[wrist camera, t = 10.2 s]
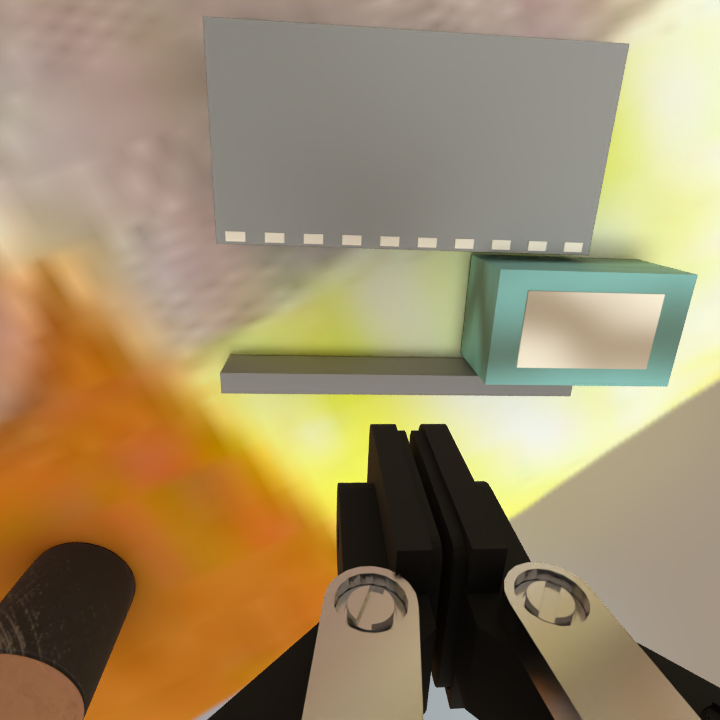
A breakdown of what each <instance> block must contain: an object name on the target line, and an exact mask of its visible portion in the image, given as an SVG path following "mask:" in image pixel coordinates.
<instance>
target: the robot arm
mask: <svg viewBox="0 0 720 720" xmlns="http://www.w3.org/2000/svg"><path fill="white" fill-rule="evenodd" d="M337 569H338V576H337V577H336V578H335V579H334V580H333V581H332V582H331V583H330V585H329V586H328V588H327V591H326V593H325V596H324V600H323V606H322V611H321V617H320V622H319V623H318V624H317V625H316V626H314V627H313V628H312V629H311V630H310V631H309V632H308V633H306V634H305V635H304V636H303V637H302V638H301V639H299V640H298V641H297V642H296V643H295V644H294V645H293V646H291V647H290V648H289V649H288V650H287V651H286V652H285V653H283V654H282V655H281V656H280V657H279V658H278V659H277V660H275V661H274V662H273V663H272V664H271V665H270V666H268V667H267V668H266V669H265V670H264V671H263V672H262V673H260V674H259V675H258V676H257V677H256V678H255V679H254V680H252V681H251V682H250V683H249V684H248V685H247V686H246V687H244V688H243V689H242V690H241V691H240V692H239V693H237V694H236V695H235V696H234V697H233V698H232V699H231V700H229V701H228V702H227V703H226V704H225V705H224V706H223V707H221V708H220V709H219V710H218V711H217V712H216V713H215V714H213V715H212V716H211V717H210V718H209V719H208V720H423V714H424V713H425V711H426V709H427V700H428V692H429V684H430V676H431V672H432V677H433V681H434V684H435V686H436V687H445V690H446V694H447V698H448V702H449V707H450V709H455V708H465V709H466V710H467V711H468V712H470V713H471V714H472V715H474V716H475V717H476V718H477V719H479V720H720V688H719V687H717V686H716V685H714V684H712V683H710V682H708V681H706V680H705V679H703V678H701V677H699V676H697V675H695V674H693V673H692V672H690V671H688V670H686V669H684V668H682V667H681V666H679V665H677V664H675V663H673V662H671V661H670V660H668V659H666V658H664V657H662V656H661V655H659V654H657V653H655V652H653V651H652V650H649V649H648V648H646V647H644V646H642V645H641V644H639V643H637V642H636V641H635V640H634V639H633V638H632V637H631V635H630V634H629V633H628V632H627V631H626V629H625V628H624V627H623V626H622V625H621V624H620V622H619V621H618V620H617V619H616V618H615V616H614V615H613V614H612V613H611V612H610V610H609V609H608V608H607V607H606V606H605V605H604V603H603V602H602V601H601V600H600V599H599V597H598V596H597V595H596V594H595V593H594V591H593V590H592V589H591V588H590V587H589V586H588V585H586V583H585V582H584V581H583V580H581V579H580V578H578V577H577V576H575V575H574V574H572V573H571V572H569V571H567V570H565V569H563V568H560V567H558V566H555V565H552V564H546V563H542V562H531V561H530V559H529V557H528V556H527V554H526V552H525V550H524V548H523V546H522V545H521V543H520V541H519V539H518V537H517V535H516V533H515V532H514V530H513V528H512V526H511V524H510V522H509V521H508V519H507V517H506V515H505V513H504V511H503V509H502V508H501V506H500V504H499V502H498V500H497V498H496V496H495V495H494V493H493V491H492V489H491V487H490V486H489V484H488V483H487V482H484V481H474V479H473V477H472V475H471V473H470V471H469V469H468V467H467V465H466V463H465V461H464V459H463V457H462V455H461V453H460V451H459V449H458V447H457V445H456V443H455V441H454V439H453V437H452V435H451V433H450V431H449V429H448V427H447V426H446V424H421V425H420V427H419V431H411V434H410V444H409V441H408V438H407V435H406V432H405V431H397V427H396V425H395V424H371V425H370V434H369V454H368V475H367V483H338V487H337Z"/></svg>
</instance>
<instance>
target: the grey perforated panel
mask: <svg viewBox="0 0 720 720" xmlns="http://www.w3.org/2000/svg"><path fill="white" fill-rule="evenodd" d="M203 25H204V42H205V59H206V76H207V93H208V109H209V126H210V143H211V160H212V177H213V194H214V211H215V227H216V244H244V245H276V246H309V247H341V248H374V249H407V250H439V251H472V252H504V253H537V254H570V255H589V250H590V245H591V240H592V234H593V229H594V224H595V219H596V214H597V209H598V203H599V198H600V193H601V188H602V183H603V178H604V172H605V167H606V162H607V157H608V152H609V146H610V141H611V136H612V131H613V126H614V121H615V115H616V110H617V105H618V100H619V95H620V90H621V84H622V79H623V74H624V69H625V64H626V59H627V53H628V48H629V44H625V43H610V42H594V41H579V40H563V39H547V38H532V37H516V36H501V35H485V34H470V33H454V32H438V31H423V30H407V29H392V28H376V27H361V26H345V25H329V24H314V23H298V22H283V21H267V20H252V19H236V18H220V17H205V16H203ZM220 378H221V393H254V394H371V395H489V396H570V395H571V390H572V385H485V384H484V382H483V381H482V380H481V378H480V377H479V376H478V375H477V373H476V372H475V371H474V369H473V368H472V367H471V366H470V364H469V363H468V362H467V361H466V359H465V358H421V357H351V356H280V355H230V356H229V358H228V360H227V362H226V363H225V365H224V367H223V369H222V371H221V373H220Z"/></svg>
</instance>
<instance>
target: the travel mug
mask: <svg viewBox="0 0 720 720" xmlns="http://www.w3.org/2000/svg"><path fill="white" fill-rule="evenodd" d="M134 593H135V581H134V577H133V574H132V572H131V570H130V569H129V567H128V566H127V564H126V563H125V562H124V561H123V560H122V559H121V558H120V557H118V556H117V555H116V554H114V553H112V552H111V551H109V550H107V549H105V548H102V547H99V546H96V545H92V544H86V543H67V544H62V545H59V546H56V547H53V548H51V549H49V550H47V551H46V552H44V553H43V554H42V555H40V556H39V557H38V558H37V559H36V561H35V562H34V563H33V564H32V565H31V566H30V567H29V568H28V570H27V571H26V572H25V573H24V574H23V576H22V577H21V578H20V579H19V580H18V582H17V583H16V584H15V585H14V587H13V588H12V589H11V590H10V591H9V593H8V594H7V595H6V596H5V597H4V599H3V600H2V601H1V602H0V720H83V719H84V717H85V714H86V712H87V710H88V707H89V705H90V702H91V700H92V698H93V695H94V693H95V690H96V688H97V685H98V683H99V681H100V678H101V676H102V673H103V671H104V669H105V666H106V664H107V661H108V659H109V657H110V654H111V652H112V649H113V647H114V645H115V642H116V640H117V637H118V635H119V632H120V630H121V628H122V625H123V623H124V620H125V618H126V616H127V613H128V610H129V608H130V605H131V603H132V600H133V597H134Z"/></svg>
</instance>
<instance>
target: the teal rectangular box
mask: <svg viewBox="0 0 720 720" xmlns="http://www.w3.org/2000/svg"><path fill="white" fill-rule="evenodd" d="M696 279H697V275H696V274H692V273H688V272H684V271H681V270H677V269H673V268H669V267H665V266H661V265H657V264H653V263H649V262H645V261H641V260H634V259H601V258H568V257H535V256H502V255H472V258H471V267H470V275H469V284H468V293H467V302H466V311H465V319H464V328H463V337H462V346H461V354H462V355H463V357H464V358H465V359H466V361H467V362H468V363H469V364H470V366H471V367H472V368H473V369H474V371H475V372H476V373H477V375H478V376H479V377H480V378H481V380H482V381H483V382H484V384H485V385H581V386H668V382H669V378H670V375H671V371H672V367H673V364H674V360H675V356H676V353H677V349H678V345H679V342H680V338H681V334H682V331H683V327H684V323H685V320H686V316H687V312H688V308H689V305H690V301H691V297H692V294H693V290H694V286H695V283H696Z"/></svg>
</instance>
